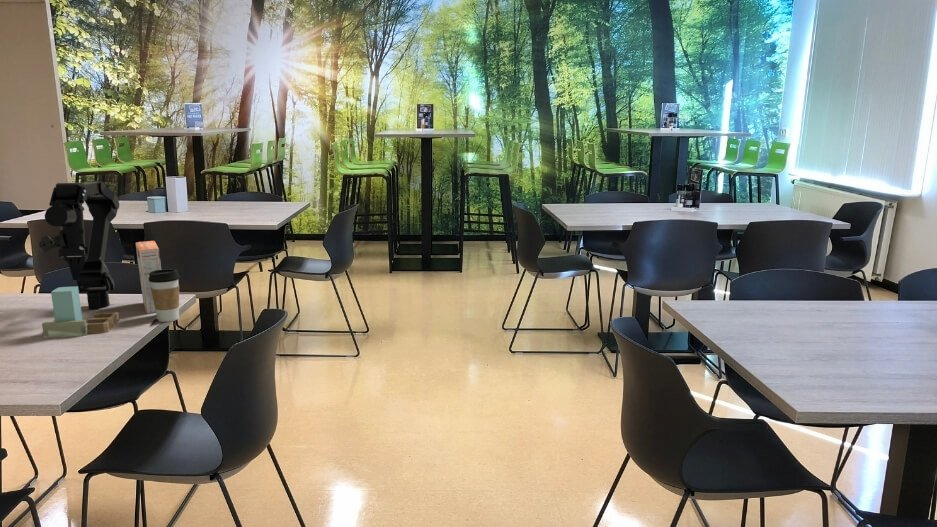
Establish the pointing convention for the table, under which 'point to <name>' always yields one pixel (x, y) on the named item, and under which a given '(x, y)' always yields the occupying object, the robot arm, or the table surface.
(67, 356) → the table surface
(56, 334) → the trap channel
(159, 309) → the coffee cup
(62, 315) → the block
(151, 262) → the cracker box
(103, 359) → the table surface
